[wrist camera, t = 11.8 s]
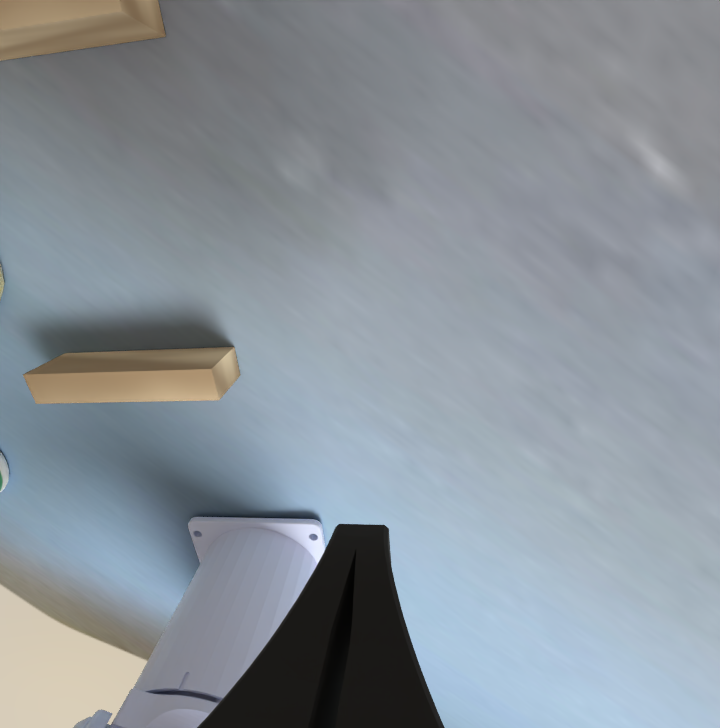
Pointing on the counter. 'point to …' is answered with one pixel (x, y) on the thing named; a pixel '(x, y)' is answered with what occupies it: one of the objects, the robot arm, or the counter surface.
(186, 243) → the counter surface
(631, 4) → the counter surface
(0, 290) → the bread roll
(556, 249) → the counter surface
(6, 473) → the supplement bottle
